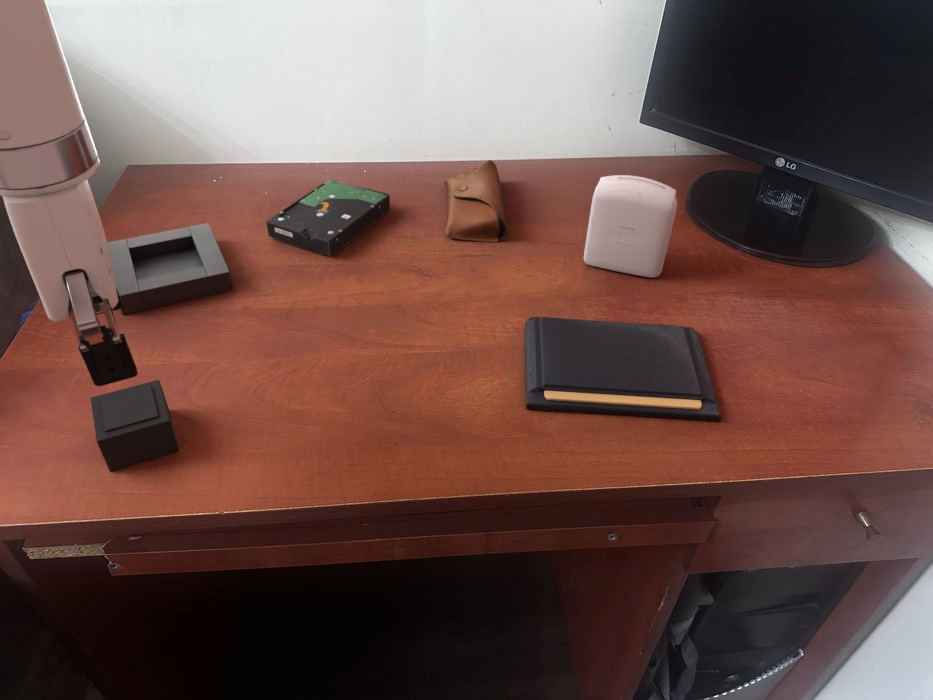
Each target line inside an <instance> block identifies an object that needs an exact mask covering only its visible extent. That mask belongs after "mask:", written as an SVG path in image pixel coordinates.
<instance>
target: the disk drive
mask: <svg viewBox="0 0 933 700" xmlns="http://www.w3.org/2000/svg"><path fill="white" fill-rule="evenodd" d="M390 210H391V197H390V194H389V193H386V192H382V191H380V190H379V191H378V190H376V189H371V188H367V187H365V186H362V185H358V186H357V185H353V184H351V183H346V182H342V181H338V179H336V178H333V179H331V180H327V181H326V182H322V183H321V184H319V185H318V186H317V187H315V188H313V189H312V190H311V191H309V192H307V193H306V194H305V195H303V196H302V197H300V198H299V199H297V200H296V201H294V202H292V203H291V204H290V205H288V206H287V207H285V208H284V209H282V210H280V211H279V212H278V213H275V214H274V215H273V216H271V217H270V218H269V219H267V220H266V228H267V234H268V237H271V238H273V239H276V240H278V241H280V242H284V243H286V244H290V245H291V246H295V247H298V248H302V249H304V250H307V251H310V252H314V253H317V254H320V255H324V256H328V257H332V256H333V255H335V254H336V253H338V252H339V251H340V250H341V249H343V248H344V247H345V246H347V245H348V244H349V243H350V242H352V241H353V240H354V239H355V238H356V237H358V236H359V235H361V234H362V233H363V232H364V231H365V230H367V229H368V228H369V227H371V226H372V225H373V224H375V222H377V221H378V220H379V219H381V218H382V217H383V216H384V215H385V214H387V213H388V211H390Z"/></svg>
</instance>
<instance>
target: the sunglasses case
mask: <svg viewBox="0 0 933 700" xmlns="http://www.w3.org/2000/svg"><path fill="white" fill-rule="evenodd" d="M444 182H445V187H446V192H447V220H446V221H447V222H446V227H445V237H448V238H450V239H452V240H453V239H454V240H458V241H459V240H460V241H465V242H478V243H479V242H480V243H498V242H500V241H503V239H504V238H505V237H506V236H507V233H508V227H507V218H506V211H505V209H506V208H505V204H504V197H503V191H502V185H501V179H500V174H499V172H498V168H497V165H496V163H495V162H494V161H493V160H491V159H488V160H487V161H485V162H484V163H483V164H482V165H480V166H477V167H475V168H472V169H470V170H467V171H464V172H462V173H459V174H457V175H454V176H452V177H449V178H446V179H445V180H444Z"/></svg>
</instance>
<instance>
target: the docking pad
mask: <svg viewBox="0 0 933 700" xmlns="http://www.w3.org/2000/svg"><path fill="white" fill-rule="evenodd" d="M107 244H108V248H109V252H110V257H111V261H112V267H113V272H114V278H115V284H116V287H117V290H118V292H119V295H120V298H121V301H122V305H123V306H122V308H121V309H120V312H121V315H122V316H125V315H128V314H133V313H137V312H138V313H139V312H142V311H146V310H150V309H154V308H159V307H163V306H167V305H173V304H177V303H181V302H185V301H190V300H195V299H198V298H203V297H207V296H212V295H215V294H219V293H224V292H229V291H233V290H234V286H233V281H232V276H231V272H230V269H229V267H228V265H227V263H226V261H225V257H224V256H223V253H222V251H221V249H220V247H219V244H218V243H217V240H216V237H215V235H214V233H213V231H212V228H211V226H210V224H209V222H205V223H200V224H195V225H190V226H186V227H180V228H175V229H170V230H165V231H160V232H155V233H149V234H143V235H139V236H135V237H129V238H122V239H119V240H113V241H107Z"/></svg>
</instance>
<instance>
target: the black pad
mask: <svg viewBox="0 0 933 700" xmlns="http://www.w3.org/2000/svg"><path fill="white" fill-rule="evenodd" d="M90 405H91V412H92V419H93V427H94V433H95V440H96V444H97V446H98V448H99V450H100V452H101V455H102V457H103V459H104V462H105V464H106V466H107V469H108V471H109V472H114V471H118V470H120V469H124V468H127V467H130V466H134V465H137V464H141V463H143V462H146V461H150V460H153V459H157V458H160V457H164V456H167V455H170V454H173V453H177V452H180V447H179V444H178V440H177V436H176V431H175V428H174V424H173V420H172V416H171V412H170V408H169V405H168V403H167V400H166V396H165V393H164V389H163V387H162V384H161V380H160V379H155V380H152V381H147V382H144V383H140V384H137V385H133V386H128V387H126V388H122V389H118V390H113V391H110V392H107V393H103V394H99V395H95V396H91V397H90Z"/></svg>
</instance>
